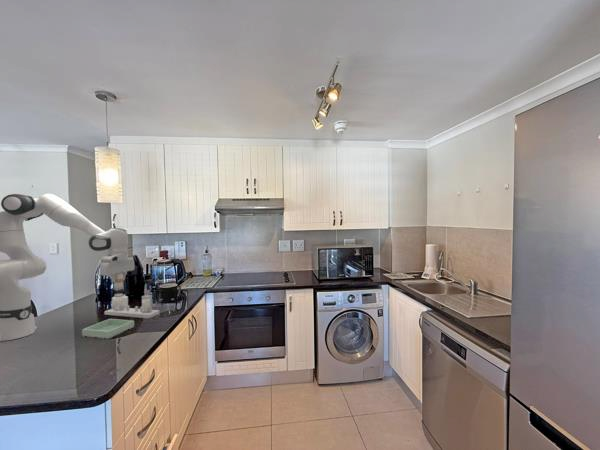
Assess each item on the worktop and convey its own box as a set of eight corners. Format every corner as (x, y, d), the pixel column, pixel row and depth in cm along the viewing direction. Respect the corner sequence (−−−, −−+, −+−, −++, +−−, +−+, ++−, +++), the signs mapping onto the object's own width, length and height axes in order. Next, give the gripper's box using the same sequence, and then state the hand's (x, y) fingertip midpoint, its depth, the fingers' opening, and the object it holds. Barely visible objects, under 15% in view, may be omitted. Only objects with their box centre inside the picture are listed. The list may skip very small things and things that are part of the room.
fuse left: (112, 310, 171) (112, 294, 171) (118, 308, 176) (118, 293, 176) (118, 311, 170) (118, 295, 170) (124, 308, 175) (124, 293, 175)
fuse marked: (111, 289, 152) (111, 272, 152) (118, 288, 156) (118, 270, 156) (118, 290, 151) (118, 272, 151) (125, 288, 156) (125, 270, 156)
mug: (161, 298, 206) (161, 283, 206) (183, 298, 208) (183, 282, 208) (152, 305, 190) (152, 288, 190) (176, 304, 192) (176, 287, 192)
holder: (104, 314, 170) (104, 306, 170) (116, 310, 179) (116, 302, 179) (149, 318, 164) (149, 310, 164) (159, 313, 173) (159, 305, 172)
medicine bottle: (128, 306, 186) (128, 289, 186) (116, 309, 180) (116, 291, 180) (123, 305, 190) (123, 288, 190) (111, 307, 184) (111, 290, 183)
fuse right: (139, 312, 167) (140, 296, 167) (145, 310, 172) (145, 294, 172) (146, 313, 167) (146, 297, 166) (151, 311, 171) (151, 295, 171)
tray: (82, 336, 137) (82, 329, 137) (109, 324, 153) (109, 318, 153) (108, 339, 134) (108, 331, 134) (134, 326, 150) (134, 320, 150)
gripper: (128, 254, 164) (128, 277, 165) (97, 258, 144) (97, 284, 144) (137, 254, 163) (137, 277, 163) (108, 259, 143) (107, 285, 143)
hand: (118, 280), depth 154 cm, fingers closed on fuse marked, 5 cm apart
